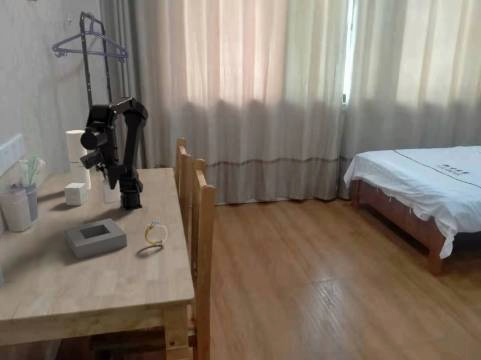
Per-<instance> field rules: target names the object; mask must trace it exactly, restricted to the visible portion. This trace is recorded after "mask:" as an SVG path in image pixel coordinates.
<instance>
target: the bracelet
mask: <svg viewBox="0 0 481 360" xmlns="http://www.w3.org/2000/svg"><path fill="white" fill-rule="evenodd" d="M156 227H160V228H162V229H163V230H164V232H165V233H164V237H163V238H162V240H160V241H158V240H157V241H152V240H150V239H149V238H148V233H149V232H150V231H152V230H153V229H154V228H156ZM168 231H169V230H168V228H167V226H166V225H165V224H163V223H161V221H157V220H152V222H149V224H147V225H146V227H145V229H144V239H145V241H146V242H147V243H148V244H149V245H153V246H157V247H158V246H159V245H161V244H163V243H165V242H166V240H167V239H168V236H169V232H168Z"/></svg>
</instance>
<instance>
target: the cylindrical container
mask: <svg viewBox="0 0 481 360" xmlns="http://www.w3.org/2000/svg"><path fill="white" fill-rule="evenodd" d="M83 133H85V131H84V130H83V129H82V130H81V129H74V130H67V131H65V136H66V137H65V138H66V143H67V150H68V158H69V159H68V160H69V167H70V173H71V174H70V175H71V179H72V182H71V183H86V189H87V191H89V190H91V189H92V183H91V177H90V176H91V175H90V169H86V168H85V167H84V166H83V164H82V162H81V161H80V158H81V157H83V156H85V155H87V154H88V150H87V149H85V148H84V147H83V146H82V145H81V142H80V139H81V136H82V134H83Z"/></svg>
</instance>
